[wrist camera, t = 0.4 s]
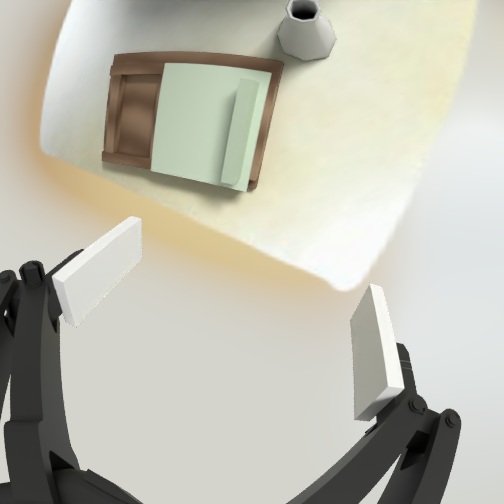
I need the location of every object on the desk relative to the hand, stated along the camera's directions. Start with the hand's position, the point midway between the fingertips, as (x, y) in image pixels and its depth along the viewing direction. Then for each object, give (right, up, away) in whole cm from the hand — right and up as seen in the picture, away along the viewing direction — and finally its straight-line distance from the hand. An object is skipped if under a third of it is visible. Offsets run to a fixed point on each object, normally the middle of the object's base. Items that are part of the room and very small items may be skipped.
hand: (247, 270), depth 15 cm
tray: (-9, +20, +18) cm, 29 cm away
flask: (+7, +27, +11) cm, 30 cm away
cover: (-5, +17, +16) cm, 24 cm away
